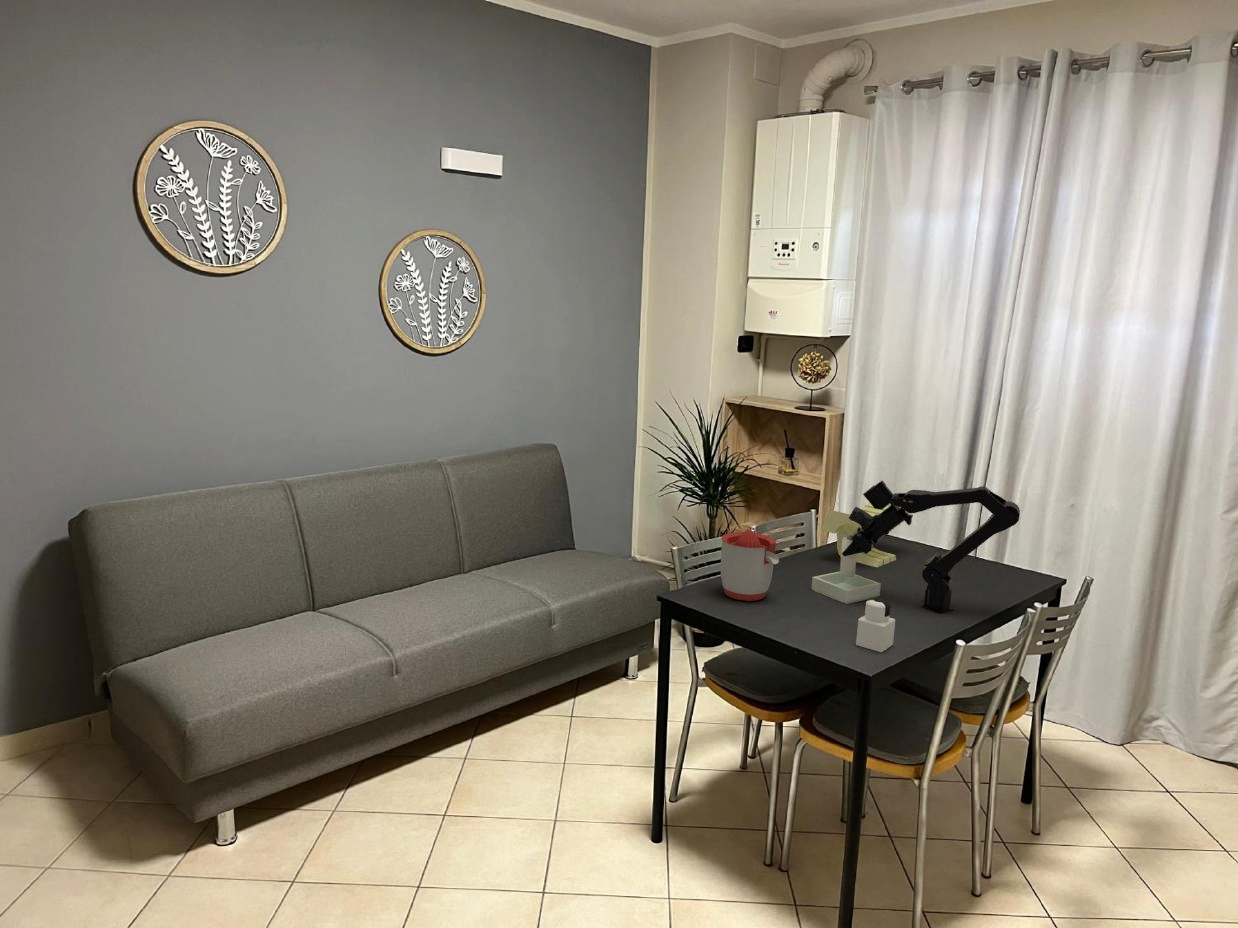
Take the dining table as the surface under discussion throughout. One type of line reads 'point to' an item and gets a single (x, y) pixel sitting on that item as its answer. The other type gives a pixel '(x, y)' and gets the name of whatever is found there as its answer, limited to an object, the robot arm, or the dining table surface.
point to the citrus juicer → (747, 564)
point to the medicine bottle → (876, 626)
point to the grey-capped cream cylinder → (847, 559)
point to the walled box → (846, 587)
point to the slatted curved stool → (845, 526)
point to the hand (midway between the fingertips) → (844, 552)
